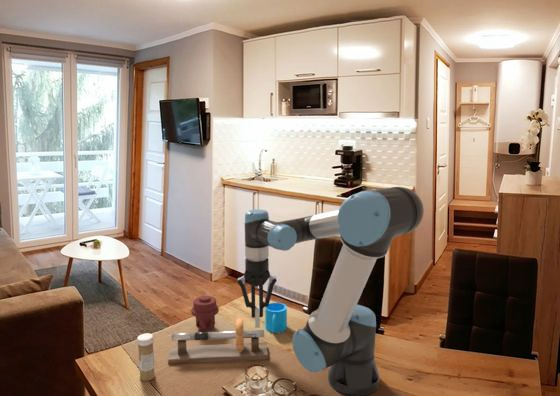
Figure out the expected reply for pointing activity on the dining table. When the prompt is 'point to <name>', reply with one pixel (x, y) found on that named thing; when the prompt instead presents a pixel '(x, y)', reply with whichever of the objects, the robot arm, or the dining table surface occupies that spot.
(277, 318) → the mug
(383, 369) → the dining table surface
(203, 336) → the rod
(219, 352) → the stand
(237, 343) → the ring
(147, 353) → the sprinkles bottle
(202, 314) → the mechanical component
